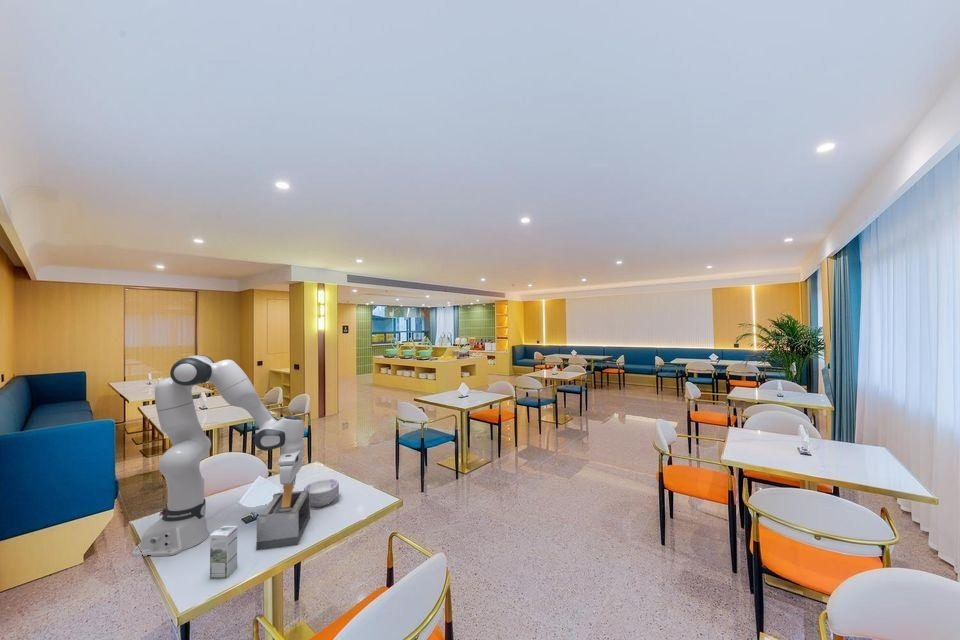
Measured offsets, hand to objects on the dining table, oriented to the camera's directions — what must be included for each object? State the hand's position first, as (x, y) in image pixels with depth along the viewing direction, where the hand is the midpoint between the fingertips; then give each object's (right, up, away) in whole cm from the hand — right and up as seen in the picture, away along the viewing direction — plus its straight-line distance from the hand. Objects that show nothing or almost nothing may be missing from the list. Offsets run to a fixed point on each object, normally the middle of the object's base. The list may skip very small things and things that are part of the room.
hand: (292, 486), depth 154 cm
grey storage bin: (+2, -14, -10) cm, 17 cm away
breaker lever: (+2, -5, -9) cm, 11 cm away
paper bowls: (+6, -15, +16) cm, 23 cm away
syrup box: (-6, -14, -33) cm, 36 cm away
